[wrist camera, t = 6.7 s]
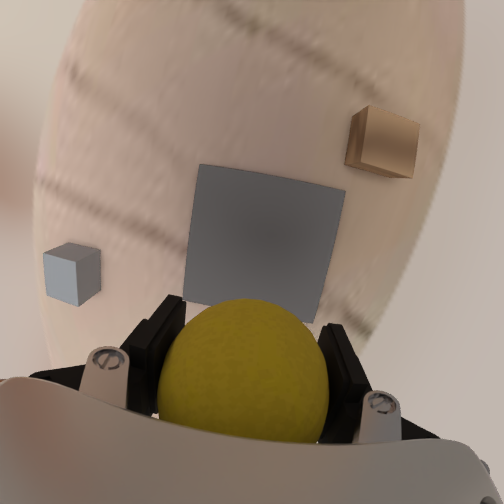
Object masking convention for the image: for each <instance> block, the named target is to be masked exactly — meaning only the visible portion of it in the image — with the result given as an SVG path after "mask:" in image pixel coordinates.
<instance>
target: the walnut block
mask: <svg viewBox="0 0 504 504" xmlns="http://www.w3.org/2000/svg"><path fill="white" fill-rule="evenodd" d="M419 128H420V124H418V123H416V122H414V121H411V120H409V119H406V118H404V117H401V116H399V115H396V114H393V113H390V112H388V111H385V110H382V109H379V108H376V107H373V106H370V105H368V106H367V107H365V108H364V109H362V110H361V111H360V112H358V113H357V114H355V115H354V116H353V117H352V121H351V128H350V134H349V141H348V147H347V153H346V158H345V164H344V165H347V166H351V167H355V168H359V169H362V170H366V171H369V172H373V173H376V174H379V175H383V176H386V177H389V178H413V173H414V167H415V160H416V153H417V145H418V137H419Z"/></svg>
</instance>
